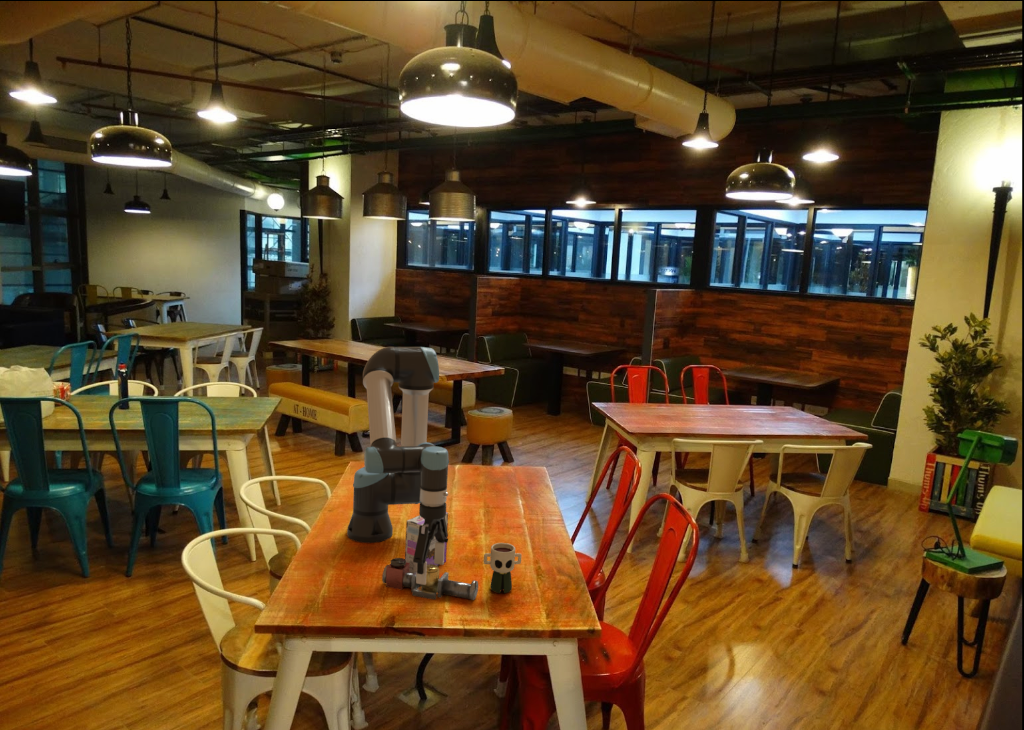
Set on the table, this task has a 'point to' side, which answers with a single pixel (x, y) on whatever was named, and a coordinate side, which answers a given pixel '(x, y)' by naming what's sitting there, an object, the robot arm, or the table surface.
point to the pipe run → (400, 577)
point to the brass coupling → (431, 579)
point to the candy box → (411, 542)
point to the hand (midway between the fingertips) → (430, 573)
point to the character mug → (502, 566)
